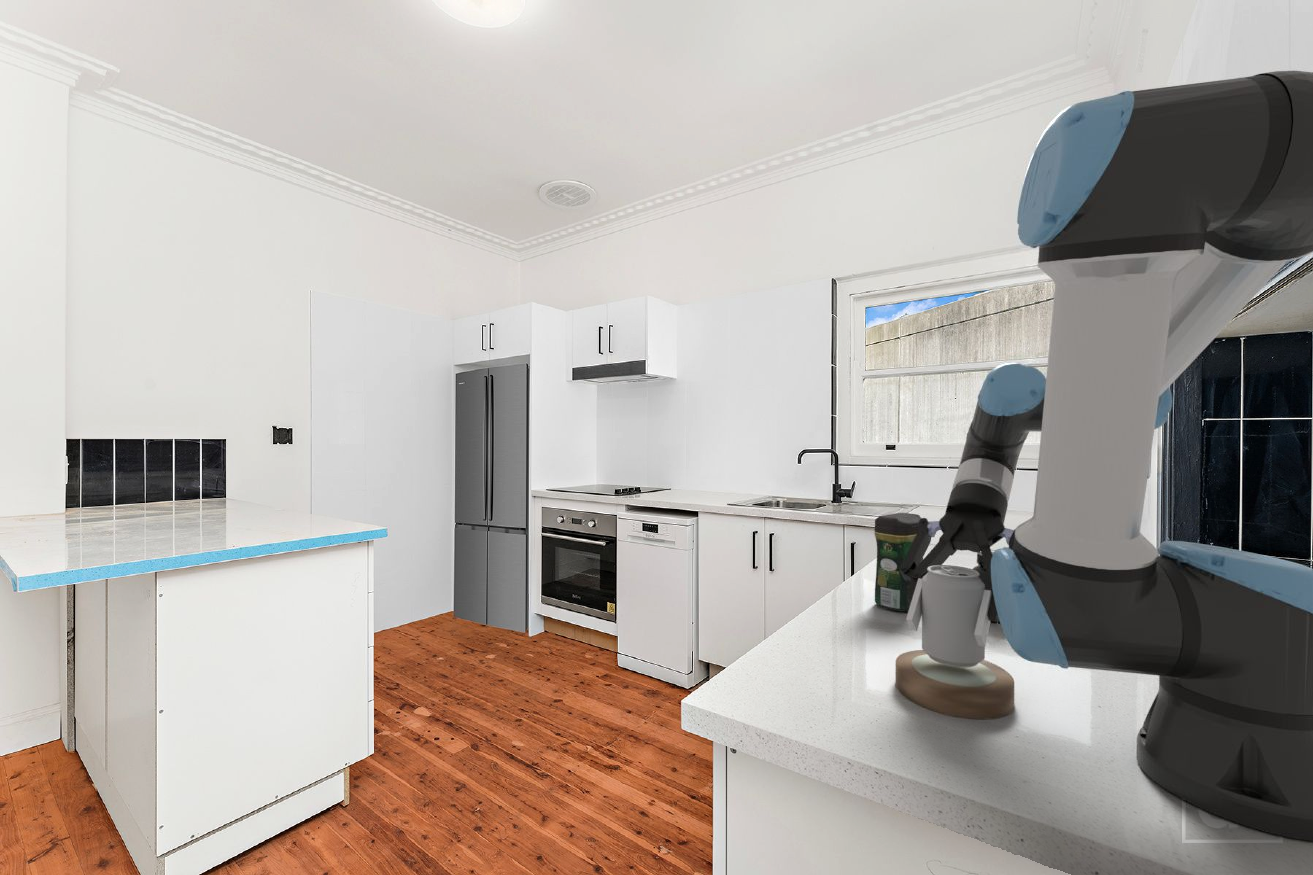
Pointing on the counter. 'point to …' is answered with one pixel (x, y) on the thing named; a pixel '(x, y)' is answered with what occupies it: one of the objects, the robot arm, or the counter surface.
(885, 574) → the coffee jar
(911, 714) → the counter surface
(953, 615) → the can
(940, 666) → the pedestal
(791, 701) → the counter surface
